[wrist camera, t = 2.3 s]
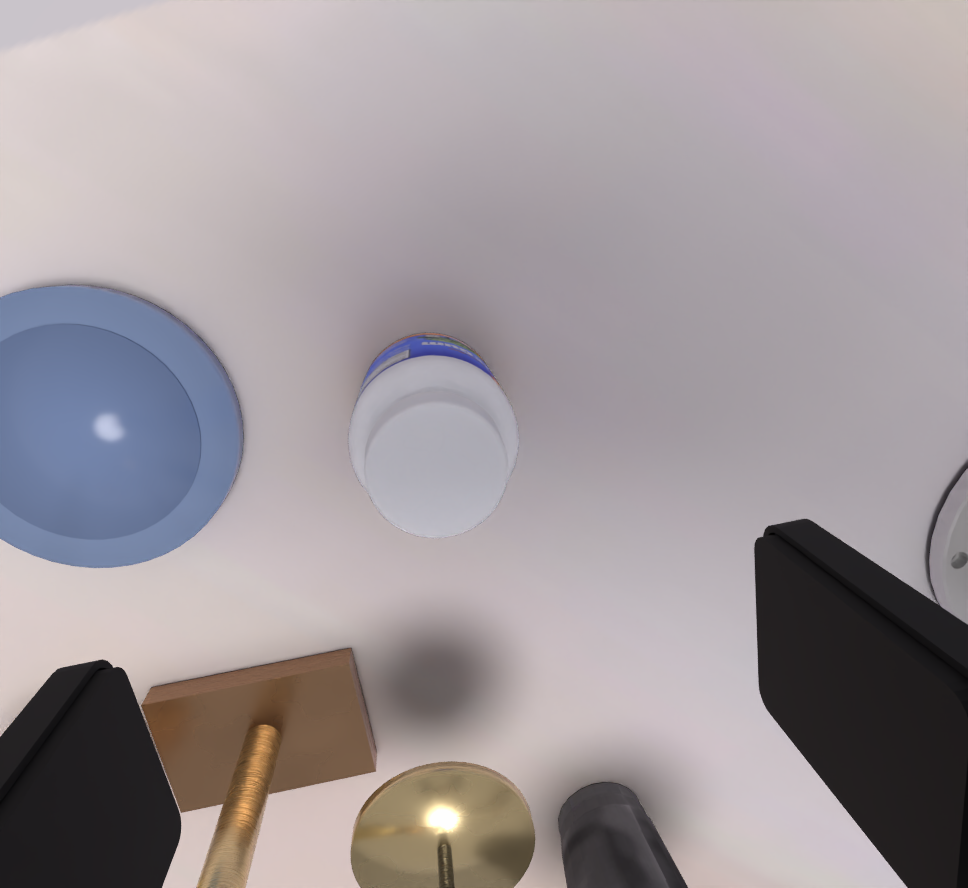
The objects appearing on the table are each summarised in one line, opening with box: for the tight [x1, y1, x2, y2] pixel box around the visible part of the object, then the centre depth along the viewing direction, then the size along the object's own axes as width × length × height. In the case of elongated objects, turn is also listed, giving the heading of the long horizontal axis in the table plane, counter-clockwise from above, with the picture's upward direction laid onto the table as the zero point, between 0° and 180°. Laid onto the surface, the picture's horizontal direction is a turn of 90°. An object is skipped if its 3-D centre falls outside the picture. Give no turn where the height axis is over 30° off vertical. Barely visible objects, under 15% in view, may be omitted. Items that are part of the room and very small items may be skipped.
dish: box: [0, 285, 244, 568], centre depth 25 cm, size 11×11×1 cm
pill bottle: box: [348, 333, 519, 538], centre depth 22 cm, size 5×5×10 cm
